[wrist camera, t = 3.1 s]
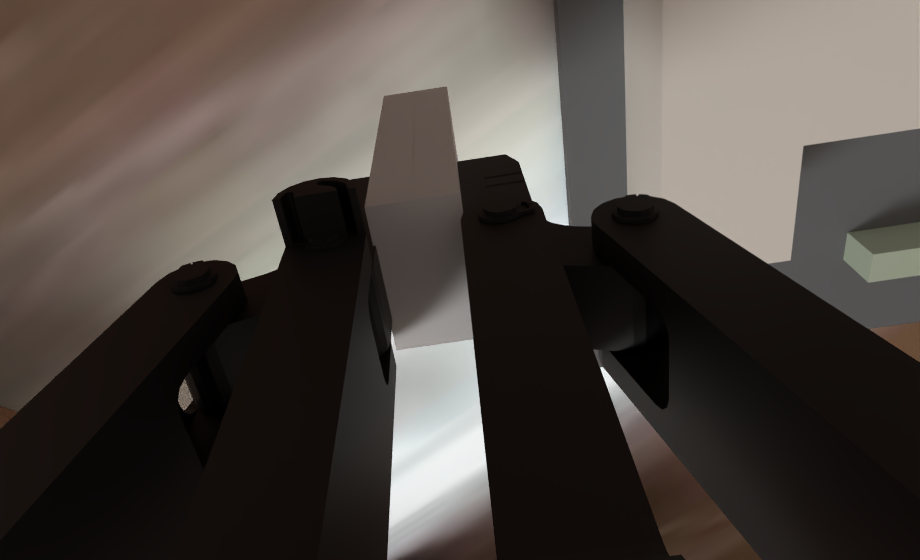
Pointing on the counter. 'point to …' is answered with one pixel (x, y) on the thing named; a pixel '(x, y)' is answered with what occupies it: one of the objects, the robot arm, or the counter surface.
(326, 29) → the counter surface
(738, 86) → the t block
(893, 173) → the mat
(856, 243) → the bay
